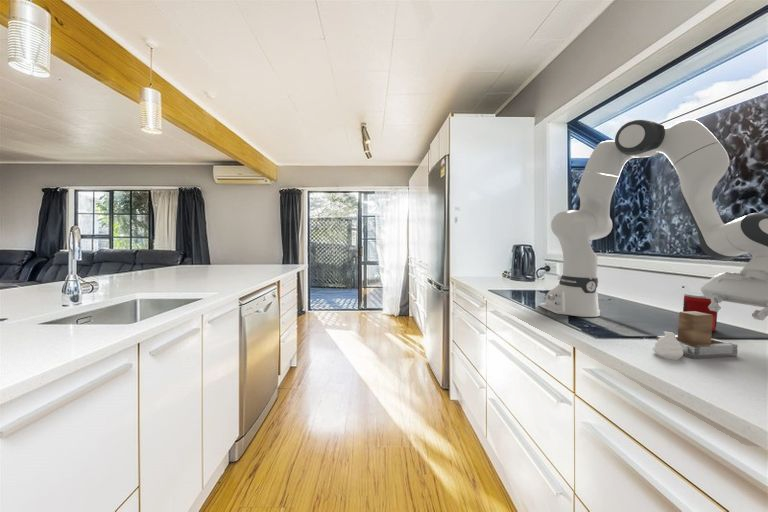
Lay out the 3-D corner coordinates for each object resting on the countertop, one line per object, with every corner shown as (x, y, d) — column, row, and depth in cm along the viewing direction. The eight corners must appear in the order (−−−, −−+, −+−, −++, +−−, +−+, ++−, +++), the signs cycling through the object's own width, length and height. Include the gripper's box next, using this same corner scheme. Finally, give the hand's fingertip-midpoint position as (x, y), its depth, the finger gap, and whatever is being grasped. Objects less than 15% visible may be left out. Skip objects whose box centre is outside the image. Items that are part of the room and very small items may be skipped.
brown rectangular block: (677, 345, 85) (679, 311, 85) (692, 345, 86) (695, 311, 86) (694, 351, 81) (696, 315, 81) (710, 350, 82) (712, 314, 82)
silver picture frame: (656, 346, 87) (657, 336, 87) (696, 344, 89) (696, 334, 89) (693, 358, 78) (694, 347, 78) (736, 356, 81) (737, 344, 80)
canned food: (722, 332, 102) (725, 297, 101) (692, 330, 103) (695, 296, 103) (704, 326, 109) (706, 293, 109) (676, 324, 111) (678, 292, 110)
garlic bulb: (676, 330, 82) (690, 336, 76) (674, 353, 82) (688, 361, 77) (650, 328, 83) (662, 334, 78) (648, 351, 83) (660, 358, 78)
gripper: (713, 264, 96) (683, 298, 95) (816, 271, 76) (780, 314, 75) (724, 279, 97) (695, 312, 96) (828, 290, 77) (793, 332, 76)
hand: (733, 313), depth 85 cm, fingers open, 8 cm apart
